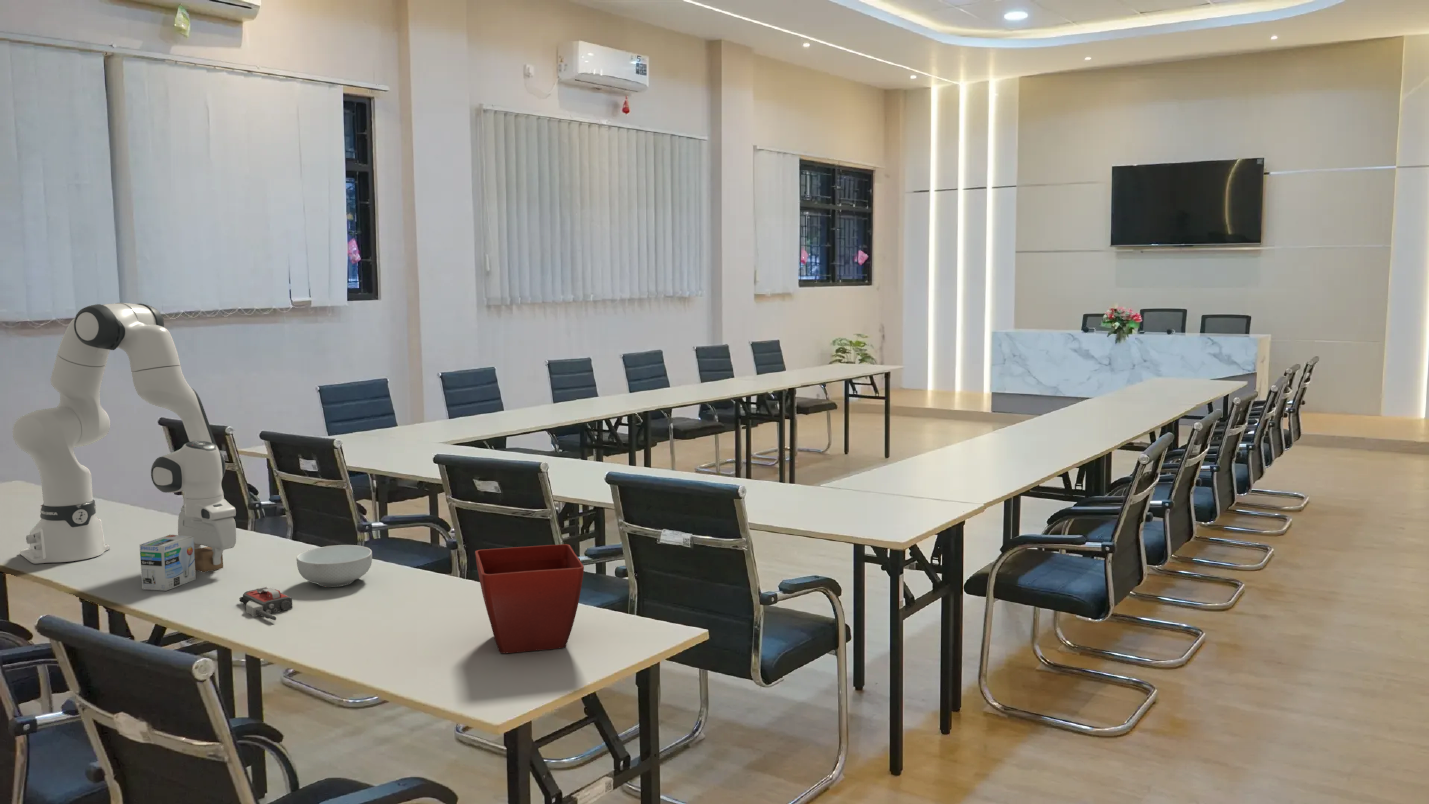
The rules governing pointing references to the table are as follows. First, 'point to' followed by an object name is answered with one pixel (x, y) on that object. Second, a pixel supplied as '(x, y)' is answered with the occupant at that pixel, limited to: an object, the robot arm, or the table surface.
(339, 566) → the cereal bowl
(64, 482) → the robot arm
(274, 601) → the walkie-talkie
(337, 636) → the table surface
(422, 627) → the table surface
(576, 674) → the table surface
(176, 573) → the light bulb box
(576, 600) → the plant pot
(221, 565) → the walnut cube
